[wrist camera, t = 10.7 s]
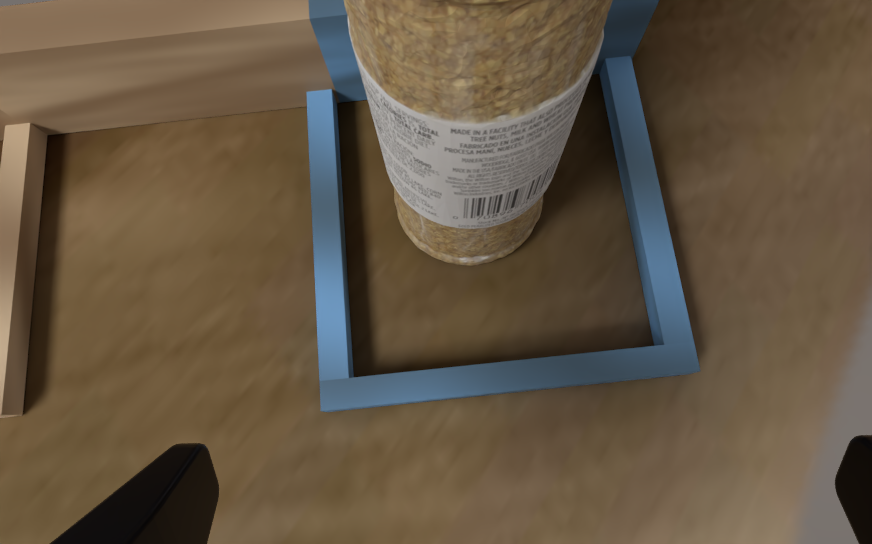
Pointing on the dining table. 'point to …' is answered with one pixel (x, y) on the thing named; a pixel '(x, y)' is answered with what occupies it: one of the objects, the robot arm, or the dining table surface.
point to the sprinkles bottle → (473, 110)
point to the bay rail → (320, 91)
